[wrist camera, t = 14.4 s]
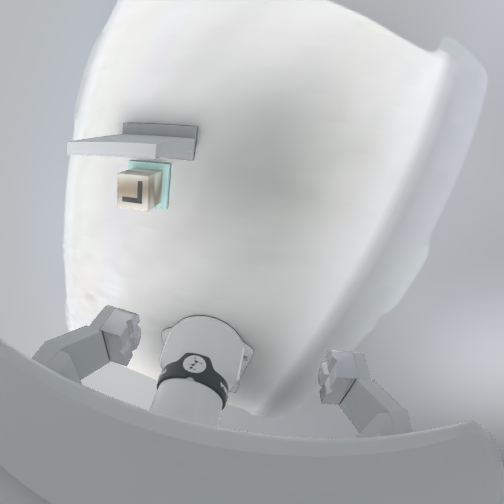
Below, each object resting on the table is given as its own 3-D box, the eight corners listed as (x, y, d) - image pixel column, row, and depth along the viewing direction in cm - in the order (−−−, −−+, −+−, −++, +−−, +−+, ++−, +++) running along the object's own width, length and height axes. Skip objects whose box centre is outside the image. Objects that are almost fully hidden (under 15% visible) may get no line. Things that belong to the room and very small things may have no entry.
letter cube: (160, 202, 41) (147, 211, 36) (132, 198, 41) (116, 207, 36) (162, 170, 38) (148, 176, 34) (133, 167, 38) (116, 173, 34)
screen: (193, 160, 38) (153, 176, 25) (123, 153, 38) (66, 169, 25) (197, 126, 36) (158, 126, 23) (126, 123, 36) (68, 127, 23)
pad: (167, 208, 41) (166, 209, 41) (129, 202, 42) (127, 203, 41) (170, 164, 38) (169, 164, 38) (130, 160, 39) (129, 160, 38)
